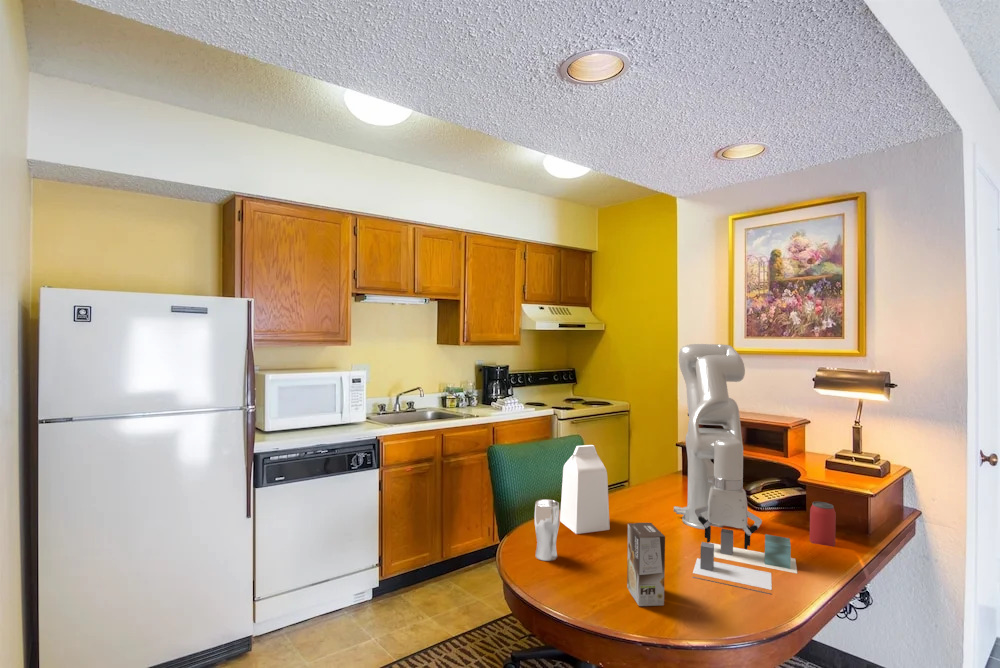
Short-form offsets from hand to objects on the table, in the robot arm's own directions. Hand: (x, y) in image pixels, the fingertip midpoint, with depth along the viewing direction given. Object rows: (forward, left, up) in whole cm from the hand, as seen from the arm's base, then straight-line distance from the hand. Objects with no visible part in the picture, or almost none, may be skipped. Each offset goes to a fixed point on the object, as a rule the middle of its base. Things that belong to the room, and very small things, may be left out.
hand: (727, 544), depth 145 cm
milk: (-43, +4, -4) cm, 43 cm away
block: (+12, 0, -2) cm, 13 cm away
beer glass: (-45, -24, -4) cm, 51 cm away
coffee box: (-16, -33, -4) cm, 37 cm away
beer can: (+25, +25, -4) cm, 36 cm away
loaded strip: (+6, 0, -4) cm, 7 cm away
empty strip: (+2, -13, -4) cm, 14 cm away
